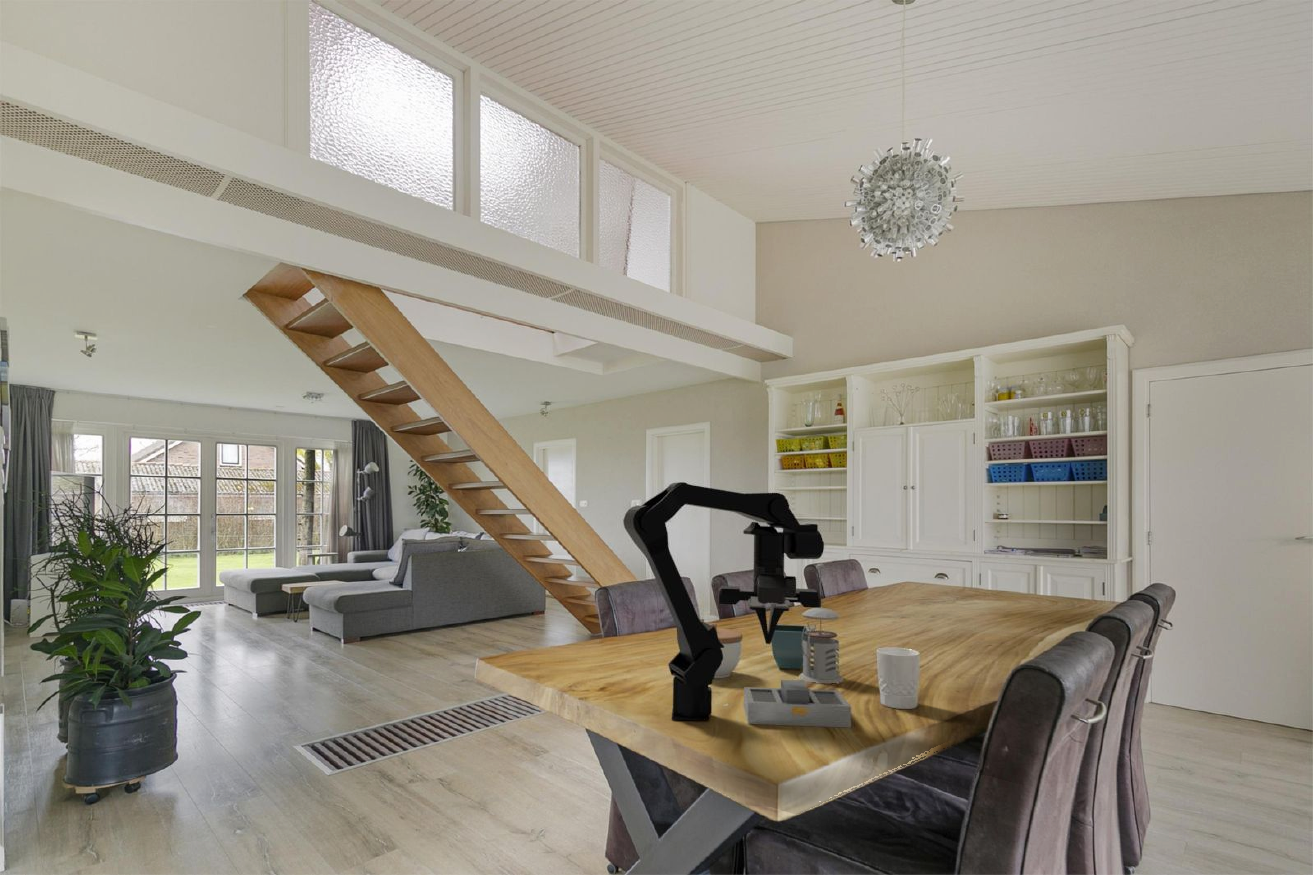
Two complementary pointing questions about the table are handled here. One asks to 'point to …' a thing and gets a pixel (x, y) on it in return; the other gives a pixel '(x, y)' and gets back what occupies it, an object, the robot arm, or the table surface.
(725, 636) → the lidded bowl
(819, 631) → the french press
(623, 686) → the table surface
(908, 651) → the white cup
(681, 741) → the table surface
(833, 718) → the rack
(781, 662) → the flower pot
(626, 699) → the table surface
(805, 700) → the grey upright box
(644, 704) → the table surface
